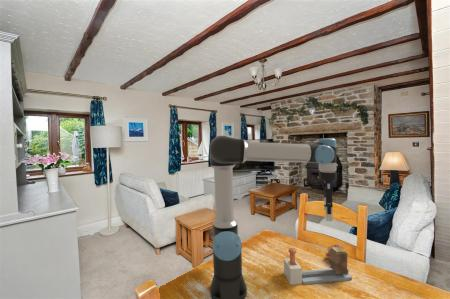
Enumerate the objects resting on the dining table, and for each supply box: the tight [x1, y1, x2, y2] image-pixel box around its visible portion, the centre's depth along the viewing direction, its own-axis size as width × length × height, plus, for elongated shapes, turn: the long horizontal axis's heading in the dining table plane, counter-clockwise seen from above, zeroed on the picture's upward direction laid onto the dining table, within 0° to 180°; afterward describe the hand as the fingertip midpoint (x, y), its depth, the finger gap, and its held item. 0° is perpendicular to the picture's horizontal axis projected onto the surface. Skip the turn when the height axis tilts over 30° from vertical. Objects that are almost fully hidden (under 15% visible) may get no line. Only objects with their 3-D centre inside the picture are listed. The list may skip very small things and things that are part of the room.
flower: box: [325, 243, 345, 259], centre depth 108 cm, size 10×9×8 cm
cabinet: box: [283, 257, 303, 286], centre depth 96 cm, size 5×8×7 cm, turn 5°
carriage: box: [329, 247, 348, 274], centre depth 96 cm, size 5×5×10 cm
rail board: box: [302, 268, 353, 285], centre depth 96 cm, size 22×7×3 cm, turn 95°
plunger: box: [288, 247, 297, 264], centre depth 95 cm, size 3×3×6 cm
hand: (328, 215), depth 102 cm, fingers open, 13 cm apart
